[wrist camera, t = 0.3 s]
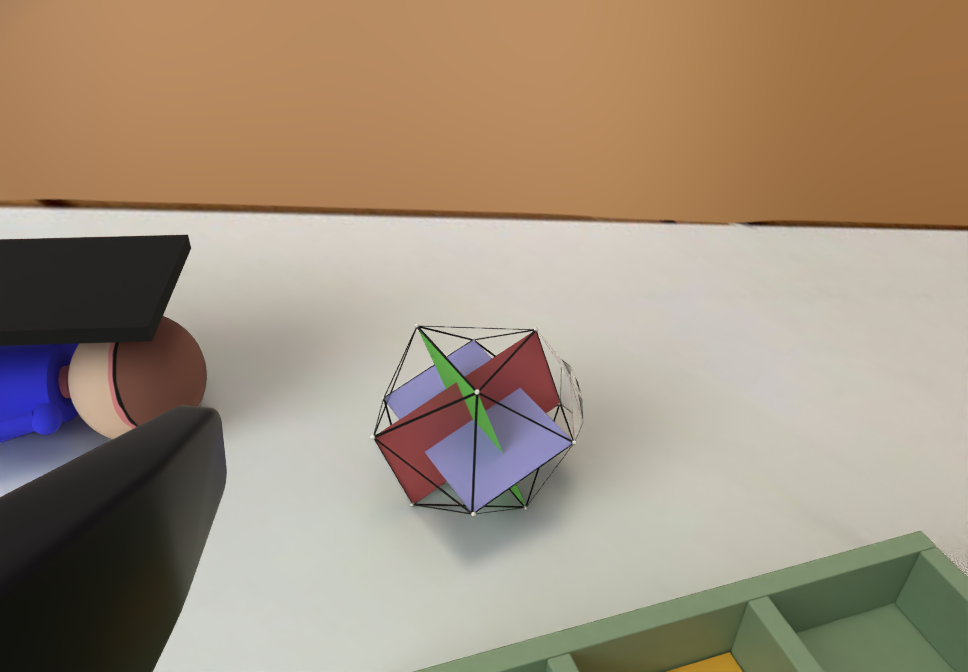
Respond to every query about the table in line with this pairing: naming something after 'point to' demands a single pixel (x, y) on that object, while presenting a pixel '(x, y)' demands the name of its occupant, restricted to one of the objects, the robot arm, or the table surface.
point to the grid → (777, 623)
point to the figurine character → (93, 334)
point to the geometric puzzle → (477, 421)
